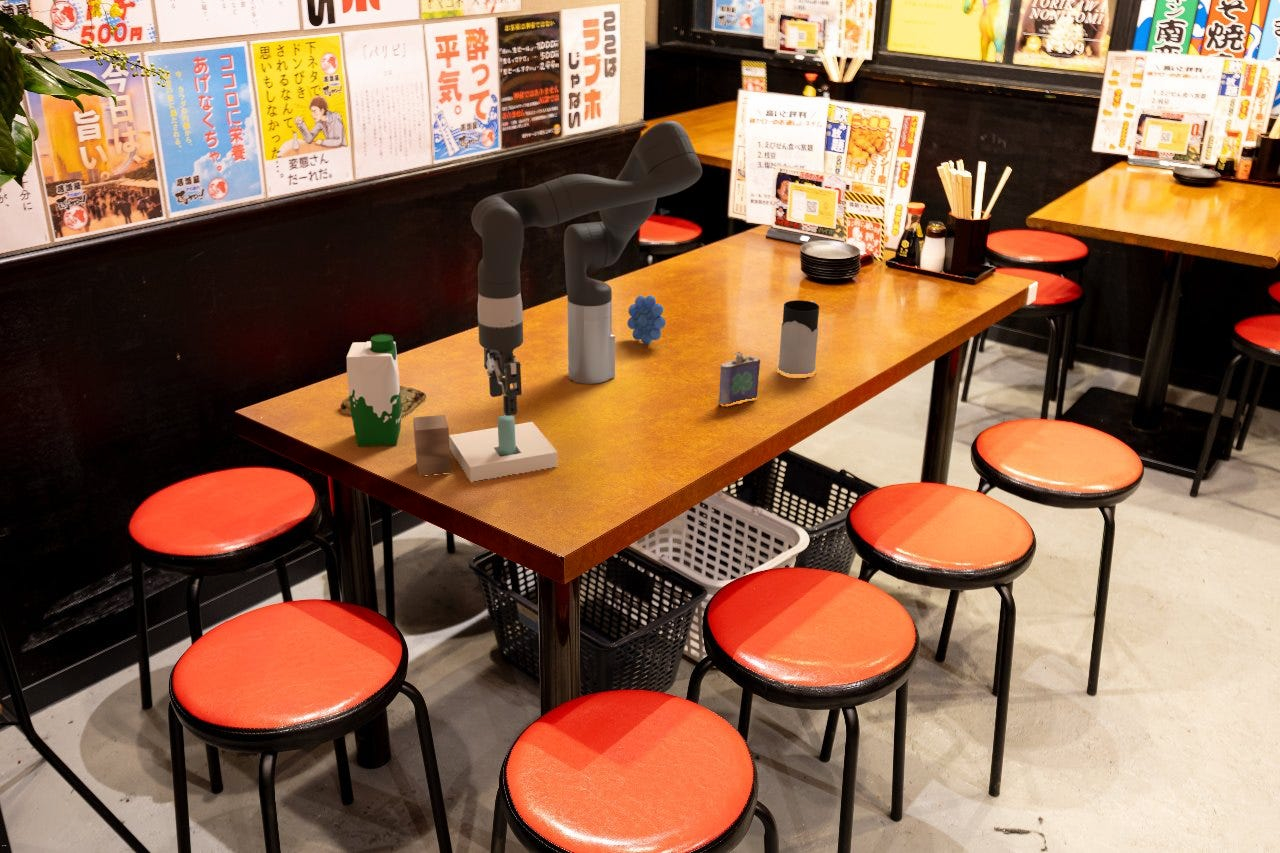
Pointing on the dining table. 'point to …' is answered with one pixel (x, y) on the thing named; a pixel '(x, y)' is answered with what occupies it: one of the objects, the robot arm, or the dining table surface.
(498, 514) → the dining table surface
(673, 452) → the dining table surface
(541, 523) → the dining table surface
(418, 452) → the grey brown block
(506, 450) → the peg
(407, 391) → the pastry
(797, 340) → the glass holder
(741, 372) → the flask
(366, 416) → the milk carton
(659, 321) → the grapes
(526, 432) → the board
